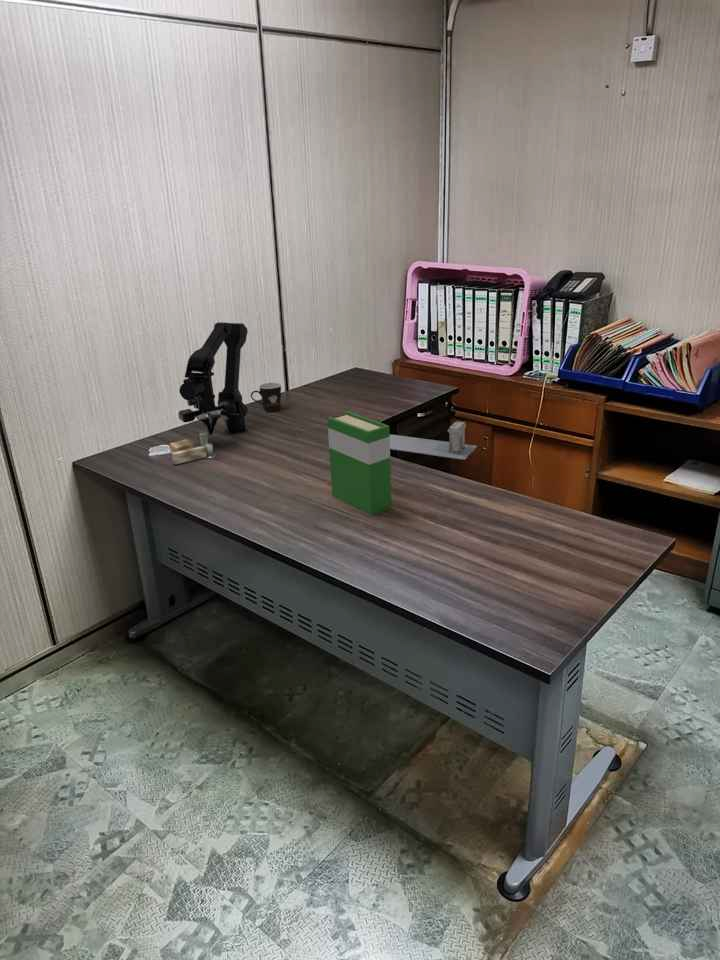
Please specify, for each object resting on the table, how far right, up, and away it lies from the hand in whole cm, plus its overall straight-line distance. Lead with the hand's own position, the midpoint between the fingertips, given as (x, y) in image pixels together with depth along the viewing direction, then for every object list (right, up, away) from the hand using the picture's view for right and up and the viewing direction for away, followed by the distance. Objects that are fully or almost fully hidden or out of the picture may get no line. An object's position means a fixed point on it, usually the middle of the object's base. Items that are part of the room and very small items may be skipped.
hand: (210, 434), depth 242 cm
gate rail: (-5, -9, -9) cm, 14 cm away
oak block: (-9, -7, -3) cm, 12 cm away
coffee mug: (+15, +12, +38) cm, 43 cm away
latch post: (-3, -3, +4) cm, 6 cm away
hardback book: (+52, -22, -43) cm, 71 cm away
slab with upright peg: (+74, -5, -6) cm, 74 cm away
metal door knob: (+1, -7, -6) cm, 10 cm away
